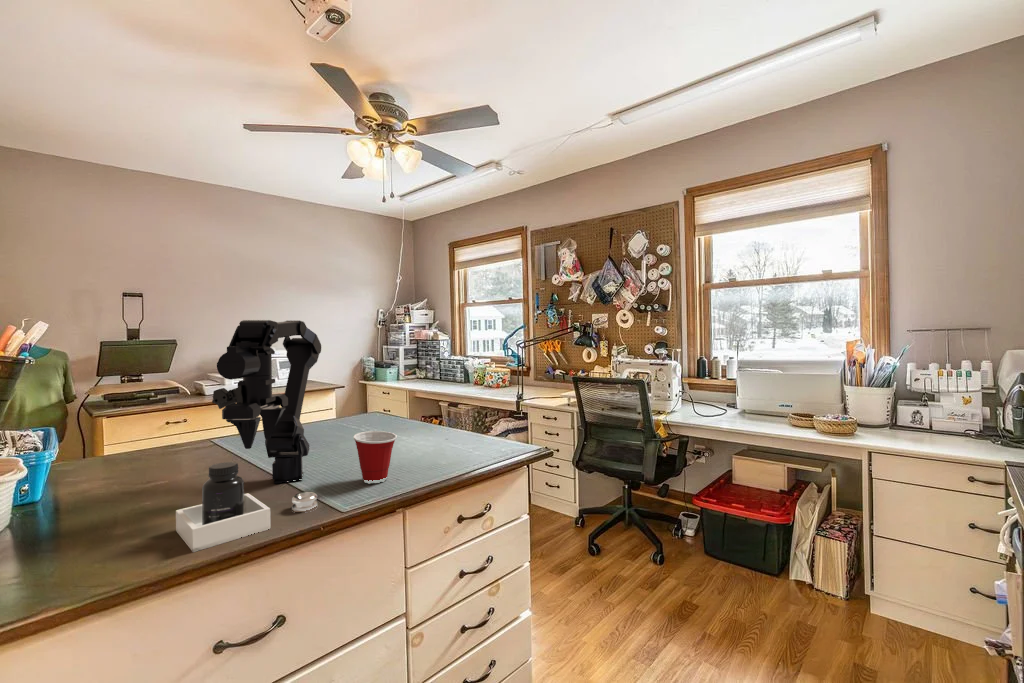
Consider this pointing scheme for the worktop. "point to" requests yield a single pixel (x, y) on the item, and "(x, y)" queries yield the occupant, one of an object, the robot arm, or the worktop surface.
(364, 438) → the plastic cup
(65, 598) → the worktop surface
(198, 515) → the bin
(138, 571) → the worktop surface
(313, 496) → the grooved metal pulley
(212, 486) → the supplement bottle
